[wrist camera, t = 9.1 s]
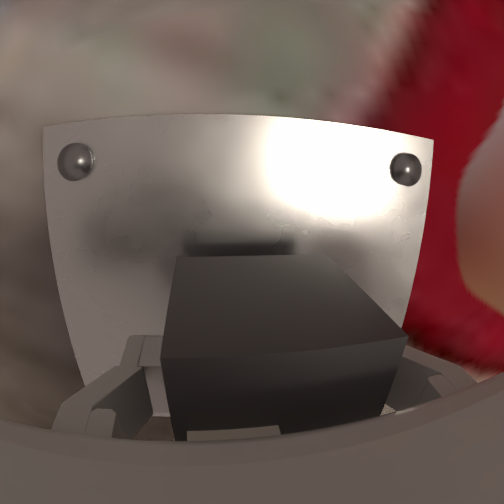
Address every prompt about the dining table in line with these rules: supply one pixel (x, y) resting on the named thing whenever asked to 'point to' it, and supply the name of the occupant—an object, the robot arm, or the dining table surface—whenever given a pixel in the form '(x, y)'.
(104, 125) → the hub plate
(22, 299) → the dining table surface
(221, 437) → the labeled dark box
